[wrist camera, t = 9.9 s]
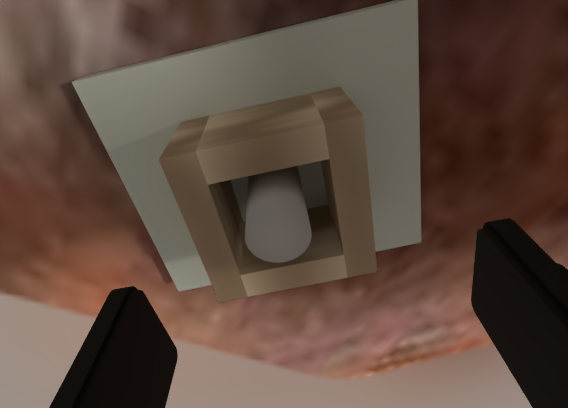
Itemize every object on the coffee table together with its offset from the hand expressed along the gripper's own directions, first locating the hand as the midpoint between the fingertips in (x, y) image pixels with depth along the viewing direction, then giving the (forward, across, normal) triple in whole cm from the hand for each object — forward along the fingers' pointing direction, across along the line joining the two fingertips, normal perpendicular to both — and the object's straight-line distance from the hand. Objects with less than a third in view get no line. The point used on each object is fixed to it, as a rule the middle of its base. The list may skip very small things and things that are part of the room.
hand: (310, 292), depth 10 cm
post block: (+9, +1, 0) cm, 9 cm away
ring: (+8, +1, 0) cm, 8 cm away
